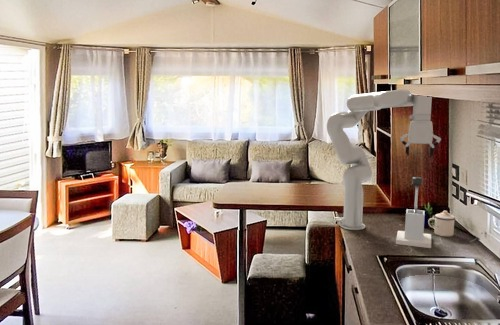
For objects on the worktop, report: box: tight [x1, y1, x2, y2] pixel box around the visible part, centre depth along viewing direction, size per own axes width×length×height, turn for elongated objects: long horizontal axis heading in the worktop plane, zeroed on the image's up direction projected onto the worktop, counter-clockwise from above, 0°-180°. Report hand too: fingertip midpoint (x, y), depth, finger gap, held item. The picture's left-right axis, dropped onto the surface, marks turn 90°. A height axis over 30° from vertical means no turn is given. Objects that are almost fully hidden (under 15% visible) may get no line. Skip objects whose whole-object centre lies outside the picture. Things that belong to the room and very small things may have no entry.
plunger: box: [409, 176, 424, 214], centre depth 204 cm, size 6×6×18 cm
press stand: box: [395, 208, 432, 249], centre depth 206 cm, size 15×15×14 cm
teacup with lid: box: [427, 210, 456, 238], centre depth 218 cm, size 12×9×12 cm
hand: (419, 156), depth 201 cm, fingers open, 9 cm apart
